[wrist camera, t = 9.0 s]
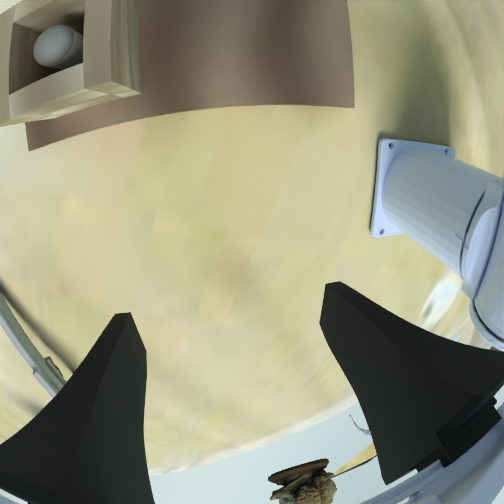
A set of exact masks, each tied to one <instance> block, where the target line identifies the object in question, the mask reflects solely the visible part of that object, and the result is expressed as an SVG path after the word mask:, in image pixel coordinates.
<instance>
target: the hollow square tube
mask: <svg viewBox="0 0 504 504" xmlns="http://www.w3.org/2000/svg"><path fill="white" fill-rule="evenodd" d="M139 24H140V9H139V7H138V5H137V3H136V1H135V0H23V1H21V2H19V3H18V4H16V5H14V6H13V7H11V8H9V9H8V10H6V11H5V12H3V13H2V14H0V127H3V126H8V125H13V124H18V123H24V122H31V121H37V120H45V119H53V118H57V117H60V116H63V115H66V114H69V113H71V112H74V111H78V110H81V109H84V108H87V107H90V106H94V105H97V104H101V103H105V102H108V101H112V100H116V99H120V98H125V97H129V96H133V95H138V94H142V87H141V70H140V36H139ZM55 25H66V26H69V27H70V28H72V29H73V30H75V31H76V32H78V33H80V34H81V35H83V63H81V64H78V65H75V66H73V67H70V68H67V69H65V70H60V69H56V68H52V67H48V66H44V65H41V64H39V63H38V62H37V61H36V59H35V57H34V53H33V51H34V45H35V42H36V40H37V39H38V37H39V36H40V35H41V34H42V33H43V32H44V31H45V30H46V29H48V28H50V27H52V26H55Z"/></svg>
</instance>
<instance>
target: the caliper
mask: <svg viewBox="0 0 504 504" xmlns="http://www.w3.org/2000/svg"><path fill="white" fill-rule="evenodd" d="M0 324H1V326H2V328H3V329H4V331H5V332H6V334H7V335H8V337H9V338H10V340H11V341H12V343H13V344H14V345H15V347H16V348H17V350H18V351H19V352H20V354H21V355H22V356H23V358H24V359H25V360H26V362H27V363H28V364H29V365H30V367H31V368H32V369H33V370H34V371H33V375H34V377H35V378H36V379H37V380H38V381H39V383H40V384H41V385H42V386H43V387H44V388H45V389H46V391H47V392H48V393H49V394H50V395H51V396H52V397H53V398H54V397H55V396H56V395H57V393H58V392H59V391H60V390H61V389H62V388H63V386H64V385H65V384H66V383H67V382H66V381H65V380H64V379H63V375H62V374H61V372H60V370H59V368H58V367H57V366H55V365H54V363H53V361H52V360H51V358H50V357H46V358H43V357H42V356H41V354H40V353H39V352H38V350H37V349H36V348H35V346H34V345H33V343H32V342H31V341H30V339H29V338H28V336H27V335H26V333H25V332H24V330H23V329H22V327H21V326H20V324H19V323H18V321H17V320H16V318H15V317H14V315H13V313H12V312H11V310H10V308H9V307H8V305H7V303H6V301H5V300H4V298H3V296H2V294H1V292H0Z"/></svg>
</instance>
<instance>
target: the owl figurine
mask: <svg viewBox="0 0 504 504" xmlns="http://www.w3.org/2000/svg"><path fill="white" fill-rule="evenodd" d="M328 463H329V461H328V459H320V460H316V461H311V462H308V463H304V464H301V465H297V466H294V467H291V468H288V469H285V470H282V471H279V472H276V473H274V474H272V475H271V476H270V477H268V481H270V482H272V483H276V484H277V485H283V486H284V487H282V488H280V489H278V490H276V491H273V492H272V496H271V497H270V500H275V499H279V503H280V504H331V503H332V501H333V495H334V494H335V492H336V491H337V488H336V485H335V483H334V481H332V480H331V479H330V478H331V477H333V476H334V474H333V473H327V472H326V471H325V470H324V469H325V468H326V467H327V464H328Z"/></svg>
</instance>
